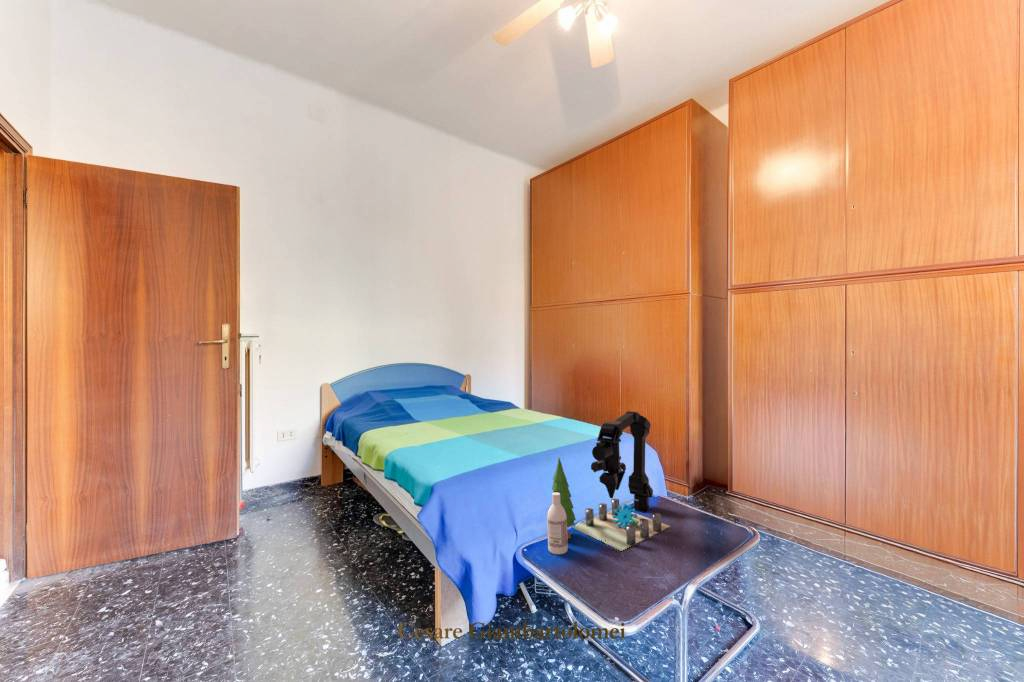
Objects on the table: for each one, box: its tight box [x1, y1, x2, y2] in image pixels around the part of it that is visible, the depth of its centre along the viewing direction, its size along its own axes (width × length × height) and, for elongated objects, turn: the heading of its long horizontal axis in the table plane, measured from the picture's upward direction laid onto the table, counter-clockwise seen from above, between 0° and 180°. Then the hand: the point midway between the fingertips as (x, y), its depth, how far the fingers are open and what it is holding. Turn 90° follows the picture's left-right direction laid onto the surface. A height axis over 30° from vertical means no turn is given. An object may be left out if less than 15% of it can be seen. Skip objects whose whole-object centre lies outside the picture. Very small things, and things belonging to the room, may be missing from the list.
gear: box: [613, 503, 639, 529], centre depth 158 cm, size 11×6×10 cm
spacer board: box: [571, 507, 671, 552], centre depth 156 cm, size 30×24×1 cm
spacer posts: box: [584, 498, 663, 547], centre depth 155 cm, size 19×23×6 cm
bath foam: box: [546, 491, 569, 555], centre depth 141 cm, size 7×7×20 cm
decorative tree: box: [551, 457, 577, 540], centre depth 151 cm, size 10×9×30 cm
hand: (614, 493), depth 157 cm, fingers open, 9 cm apart
